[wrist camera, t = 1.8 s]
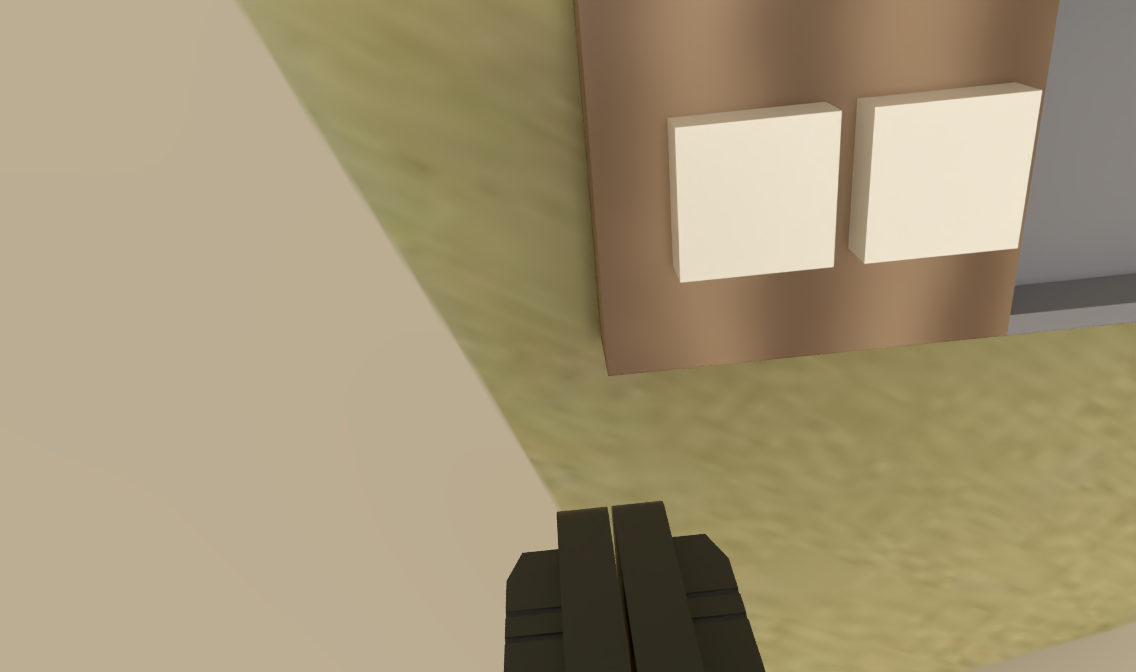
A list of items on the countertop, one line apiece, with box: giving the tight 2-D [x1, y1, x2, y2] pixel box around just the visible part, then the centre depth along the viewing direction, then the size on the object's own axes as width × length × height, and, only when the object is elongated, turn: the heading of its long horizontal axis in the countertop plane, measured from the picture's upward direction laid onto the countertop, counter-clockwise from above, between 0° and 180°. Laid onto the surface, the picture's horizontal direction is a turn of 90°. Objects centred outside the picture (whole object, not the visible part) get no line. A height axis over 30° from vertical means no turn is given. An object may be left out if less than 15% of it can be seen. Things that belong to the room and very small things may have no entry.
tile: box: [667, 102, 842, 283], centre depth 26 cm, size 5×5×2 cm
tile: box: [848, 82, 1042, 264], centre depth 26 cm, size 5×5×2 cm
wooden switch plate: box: [573, 0, 1060, 376], centre depth 28 cm, size 14×13×3 cm
